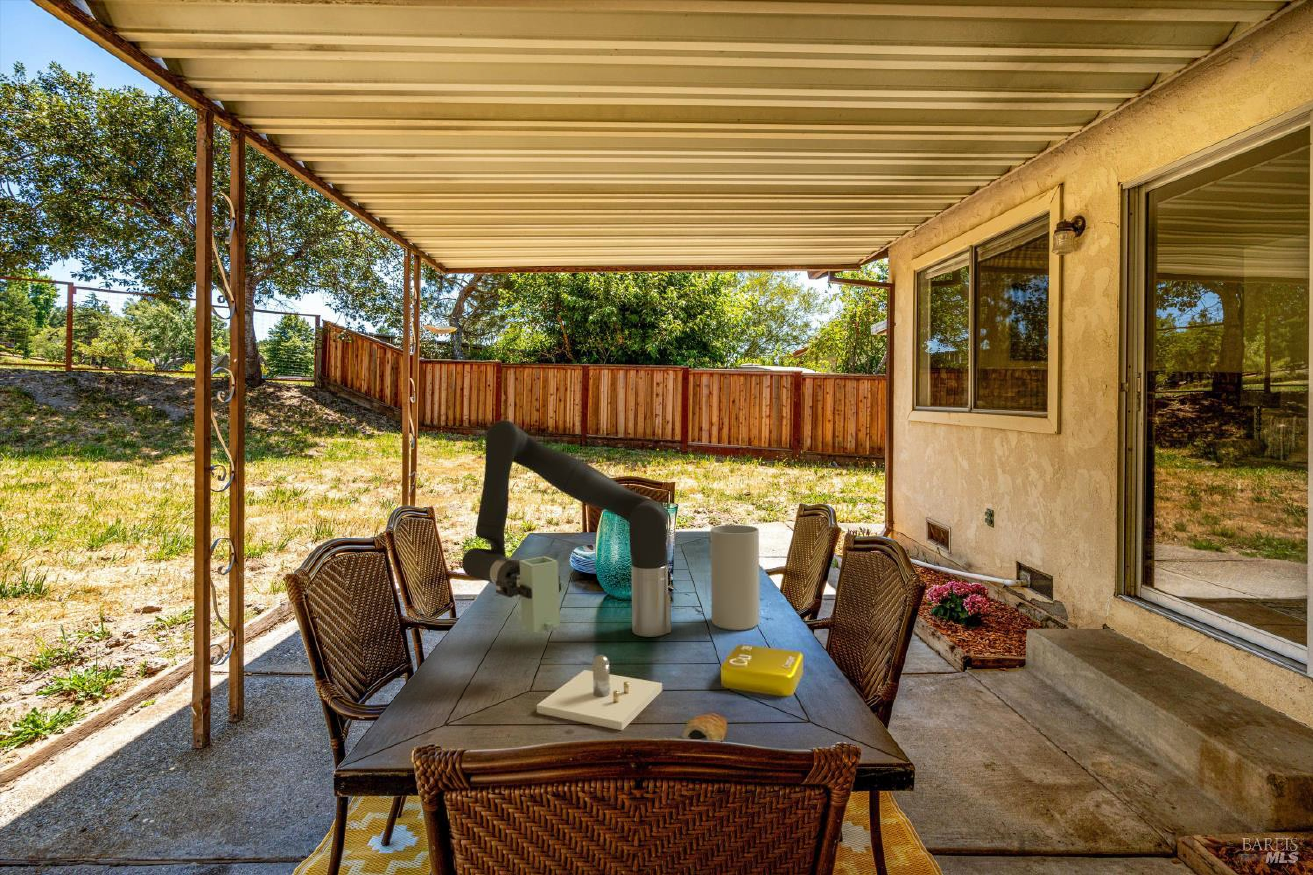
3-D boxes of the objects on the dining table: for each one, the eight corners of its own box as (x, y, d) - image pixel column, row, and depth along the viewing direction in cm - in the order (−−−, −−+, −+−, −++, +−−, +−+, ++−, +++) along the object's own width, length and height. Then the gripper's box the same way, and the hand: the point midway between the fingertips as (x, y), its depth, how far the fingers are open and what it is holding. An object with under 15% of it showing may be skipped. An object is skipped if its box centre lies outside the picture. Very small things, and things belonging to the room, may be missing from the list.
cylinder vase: (705, 627, 173) (704, 532, 172) (719, 613, 185) (718, 523, 183) (752, 633, 168) (752, 535, 167) (764, 618, 180) (763, 526, 179)
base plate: (536, 712, 126) (535, 665, 126) (584, 676, 143) (583, 634, 142) (622, 730, 119) (621, 680, 119) (662, 690, 135) (661, 646, 135)
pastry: (702, 721, 123) (702, 700, 122) (736, 729, 119) (736, 708, 119) (679, 744, 114) (679, 722, 114) (715, 754, 111) (715, 731, 111)
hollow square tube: (521, 625, 144) (519, 560, 143) (547, 619, 147) (544, 556, 146) (537, 634, 137) (535, 567, 137) (563, 627, 141) (561, 562, 140)
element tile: (791, 699, 132) (791, 675, 131) (718, 688, 137) (718, 665, 137) (804, 671, 145) (804, 649, 145) (737, 662, 151) (737, 641, 151)
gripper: (481, 564, 150) (512, 579, 136) (539, 554, 158) (574, 567, 145) (482, 597, 150) (513, 615, 136) (540, 586, 158) (575, 601, 145)
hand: (544, 590), depth 141 cm, fingers closed on hollow square tube, 6 cm apart
